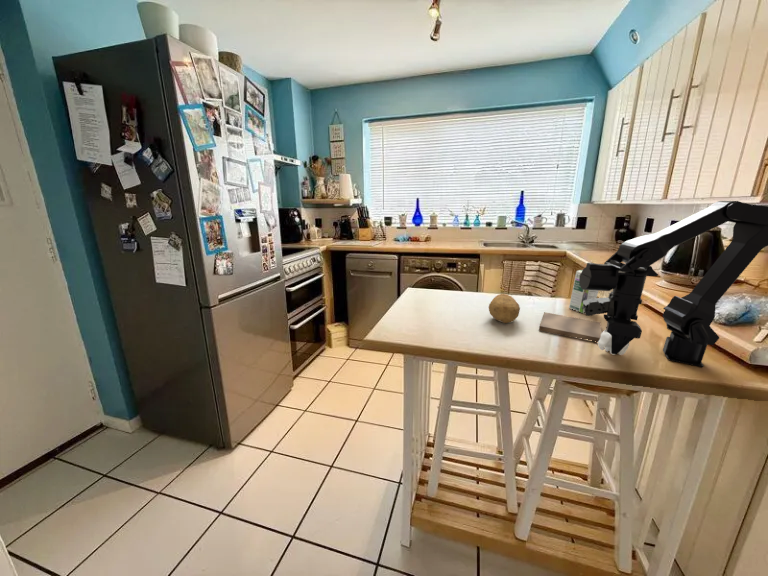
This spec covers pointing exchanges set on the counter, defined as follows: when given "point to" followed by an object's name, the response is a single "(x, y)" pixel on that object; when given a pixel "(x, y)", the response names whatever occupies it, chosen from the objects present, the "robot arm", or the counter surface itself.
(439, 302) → the counter surface
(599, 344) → the elephant figurine
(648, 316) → the counter surface
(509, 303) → the potato
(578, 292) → the syrup box
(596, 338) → the walnut board
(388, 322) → the counter surface
